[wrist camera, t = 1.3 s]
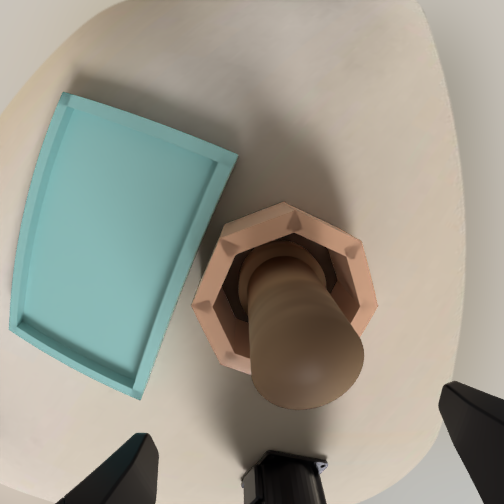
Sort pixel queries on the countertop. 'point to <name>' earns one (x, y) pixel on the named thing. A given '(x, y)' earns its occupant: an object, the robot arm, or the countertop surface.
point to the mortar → (260, 232)
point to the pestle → (296, 329)
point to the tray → (111, 238)
